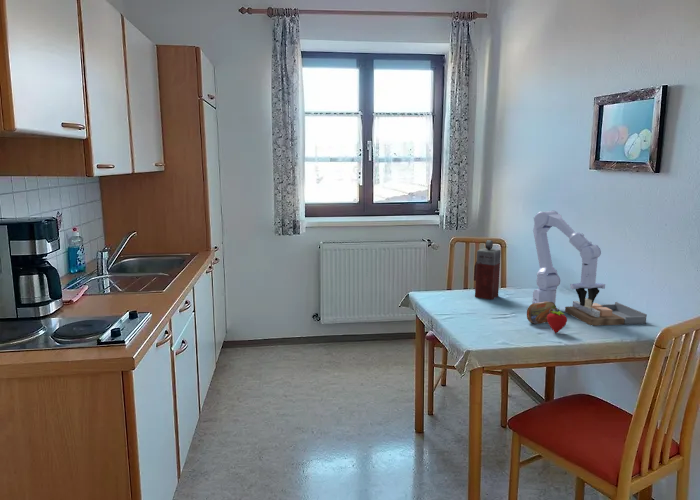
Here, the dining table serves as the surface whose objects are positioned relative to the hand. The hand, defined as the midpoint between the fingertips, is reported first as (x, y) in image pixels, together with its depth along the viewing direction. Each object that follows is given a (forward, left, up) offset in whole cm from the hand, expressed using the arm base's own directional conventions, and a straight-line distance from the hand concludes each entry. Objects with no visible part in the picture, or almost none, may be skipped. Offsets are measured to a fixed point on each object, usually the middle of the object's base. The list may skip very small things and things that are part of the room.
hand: (586, 305), depth 226 cm
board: (+4, 0, -6) cm, 7 cm away
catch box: (+16, 0, -6) cm, 17 cm away
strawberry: (-23, -17, -6) cm, 29 cm away
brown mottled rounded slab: (-22, -3, -6) cm, 23 cm away
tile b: (+6, +4, -3) cm, 8 cm away
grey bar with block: (0, 0, -3) cm, 3 cm away
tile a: (+6, -3, -3) cm, 8 cm away
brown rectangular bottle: (-29, +41, -6) cm, 50 cm away
